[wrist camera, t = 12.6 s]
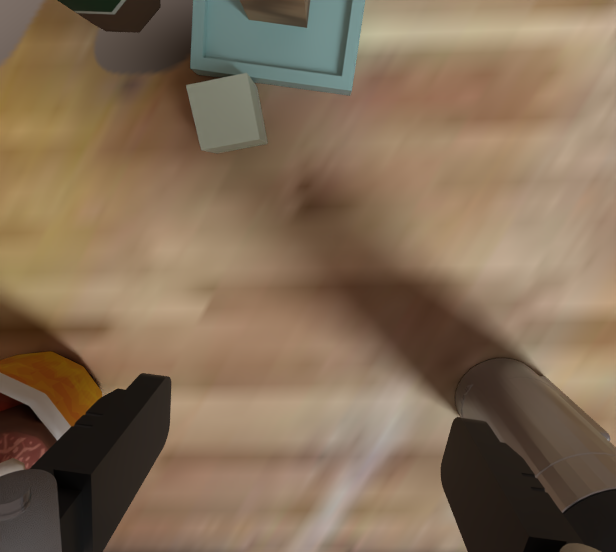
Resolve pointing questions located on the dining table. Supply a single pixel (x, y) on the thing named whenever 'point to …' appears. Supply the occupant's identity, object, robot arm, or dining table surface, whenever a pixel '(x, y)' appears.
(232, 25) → the teal tray
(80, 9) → the beer bottle
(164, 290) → the dining table surface
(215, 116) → the sage block
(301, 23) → the walnut block
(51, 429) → the bucket of meat
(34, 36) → the dining table surface
